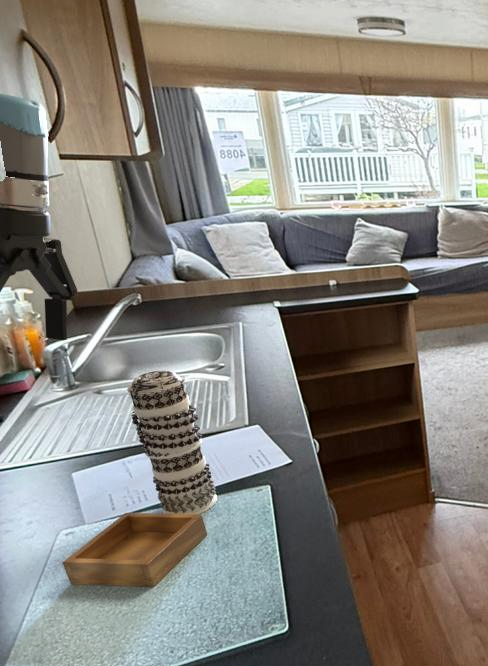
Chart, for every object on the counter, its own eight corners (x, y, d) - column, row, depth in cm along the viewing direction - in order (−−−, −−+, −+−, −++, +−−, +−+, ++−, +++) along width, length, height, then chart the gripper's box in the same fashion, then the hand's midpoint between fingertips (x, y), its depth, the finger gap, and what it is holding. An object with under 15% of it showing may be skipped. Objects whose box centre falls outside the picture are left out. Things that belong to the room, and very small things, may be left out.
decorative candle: (153, 524, 111) (111, 389, 101) (168, 496, 119) (130, 369, 110) (213, 514, 114) (178, 382, 104) (223, 488, 122) (191, 363, 112)
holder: (70, 584, 97) (61, 562, 95) (132, 532, 109) (125, 512, 107) (154, 586, 96) (147, 564, 95) (207, 534, 108) (202, 514, 107)
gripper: (-32, 210, 84) (-22, 368, 89) (101, 211, 108) (104, 336, 113) (-95, 200, 83) (-81, 360, 88) (54, 204, 107) (58, 329, 112)
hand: (23, 347), depth 100 cm, fingers open, 13 cm apart
